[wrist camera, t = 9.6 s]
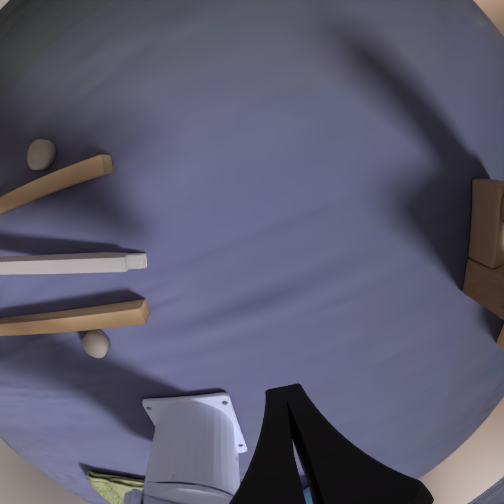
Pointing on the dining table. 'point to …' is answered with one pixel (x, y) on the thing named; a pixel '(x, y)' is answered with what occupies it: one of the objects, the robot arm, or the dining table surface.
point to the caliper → (72, 263)
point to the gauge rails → (74, 319)
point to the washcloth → (113, 486)
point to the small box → (501, 338)
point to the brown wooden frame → (486, 246)
